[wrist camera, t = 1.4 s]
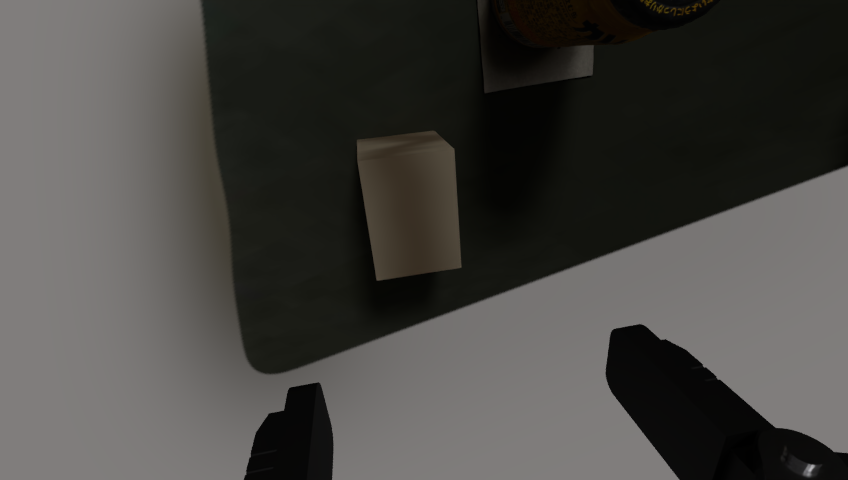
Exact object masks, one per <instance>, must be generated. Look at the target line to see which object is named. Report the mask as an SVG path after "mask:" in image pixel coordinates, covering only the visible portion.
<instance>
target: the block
mask: <svg viewBox="0 0 848 480" xmlns="http://www.w3.org/2000/svg"><path fill="white" fill-rule="evenodd" d="M357 161H358V168H359V174H360V180H361V186H362V192H363V199H364V205H365V211H366V217H367V223H368V229H369V236H370V242H371V248H372V254H373V260H374V267H375V273H376V279H377V281H379V280H386V279H392V278H398V277H405V276H411V275H417V274H424V273H430V272H437V271H443V270H449V269H456V268H461V254H460V237H459V220H458V204H457V187H456V170H455V153H454V149H453V148H452V147H451V146H450V145H449V144H448V143H447V142H446V141H445V140H444V139H443V138H442V137H440V136H439V135H438V134H437V133H436V132H435V131H428V132H419V133H411V134H403V135H395V136H386V137H378V138H370V139H362V140H357Z"/></svg>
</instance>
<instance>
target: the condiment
mask: <svg viewBox="0 0 848 480" xmlns="http://www.w3.org/2000/svg"><path fill="white" fill-rule="evenodd" d="M477 1H478V15H479V26H480V35H481V55H482V67H483V75H484V92H485V93H489V92H495V91H500V90H506V89H512V88H517V87H524V86H529V85H535V84H541V83H546V82H553V81H559V80H566V79H571V78H578V77H584V76H590V75H592V73H593V47H594V45H608V44H613V45H617V44H623V43H627V42H630V41H634V40H637V39H639V38H642V37H644V36H646V35H647V34H649V33H651V32H653V31H658V30H666V29H669V28H677V27H680V26H683V25H685V24H686V23H689V22H692V21H694V20H695V19H697V18H699V17H701V16H703V15H704V14H706V13H707V12H708V11H709V10H710V9H711V8H712V7H713V6H714V5H716V4H717V3H718V2H719V1H720V0H477ZM498 35H501V38H499V37H498ZM558 47H561V48H560V49H557V48H558Z"/></svg>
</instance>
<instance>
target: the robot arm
mask: <svg viewBox="0 0 848 480" xmlns="http://www.w3.org/2000/svg"><path fill="white" fill-rule="evenodd" d="M606 379H607V382H608V385H609V388H610V390H611V392H612V393H613V395H614V396H615V397H616V399H617V400H618V401H619V402H620V404H621V405H622V406H623V407H624V409H625V410H626V411H627V413H628V414H629V415H630V416H631V418H632V419H633V420H634V422H635V423H636V424H637V426H638V427H639V428H640V429H641V431H642V432H643V433H644V435H645V436H646V437H647V438H648V440H649V441H650V442H651V443H652V445H653V446H654V447H655V449H656V450H657V451H658V453H659V454H660V455H661V456H662V458H663V459H664V460H665V461H666V463H667V464H668V465H669V467H670V468H671V469H672V471H673V472H674V473H675V474H676V476H677V477H678V478H679V479H680V480H848V453H838V452H833V451H832V450H831V449H830V448H828V447H827V446H826V445H824V444H823V443H821V442H819V441H818V440H816V439H814V438H812V437H810V436H808V435H805V434H802V433H800V432H797V431H794V430H789V429H783V428H775V427H774V426H773V425H771V424H770V423H769V422H768V421H767V420H766V419H765V418H763V417H762V416H761V415H760V414H759V413H758V412H756V411H755V410H754V409H753V408H752V407H751V406H750V405H748V404H747V403H746V402H745V401H744V400H743V399H742V398H740V397H739V396H738V395H737V394H736V393H735V392H733V391H732V390H731V389H730V388H729V387H728V386H727V385H726V384H724V383H723V382H722V381H721V380H718V379H717V378H716V376H715V375H714V374H713V373H712V372H711V371H710V370H708V369H707V368H704V367H703V364H702V363H700V362H699V361H698V360H697V359H696V358H695V357H694V356H692V355H691V354H690V353H689V352H688V351H687V350H685V349H683V348H681V347H679V346H677V345H675V344H673V343H671V342H670V341H668V340H666V339H665V340H660V339H659V338H658V337H657V336H656V335H655V334H654V333H653V332H651V331H650V330H649V329H648V328H647V327H646V326H644V325H641V324H639V325H633V326H628V327H622V328H617V329H614V330H612V332H611V335H610V342H609V350H608V358H607V365H606ZM332 469H333V433H332V427H331V422H330V418H329V414H328V411H327V407H326V403H325V399H324V395H323V391H322V388H321V385H320V383H313V384H308V385H302V386H296V387H291V388H289V390H288V393H287V398H286V403H285V409H284V411H280V412H275V413H270V414H268V416H267V418H266V419H265V420H264V422H263V423H262V425H261V426H260V428H259V429H258V431H257V432H256V435H255V438H254V442H253V447H252V450H251V458H249V463H248V466H247V470H246V472H247V474H246V475H245V478H244V480H332Z"/></svg>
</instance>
